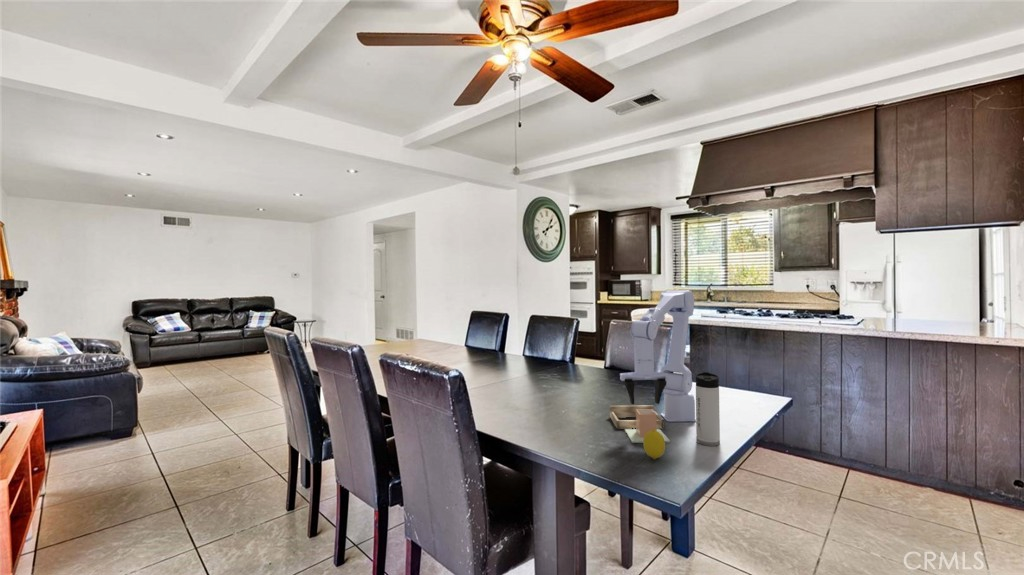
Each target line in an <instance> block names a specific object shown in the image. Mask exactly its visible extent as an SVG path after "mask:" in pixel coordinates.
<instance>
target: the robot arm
mask: <svg viewBox="0 0 1024 575" xmlns="http://www.w3.org/2000/svg"><path fill="white" fill-rule="evenodd" d="M659 299H660V300H659V302H658V303H657V305H656V306H655V307H650V308H649V309H647V312H645V313H644V314H643V316H642V317H641V318H640V319H639V320H637V319H636V320H635V321H633V322H632V323H631V325H630V329H629V333H630V337H631V342H632V345H633V346H634V347H633V350H634V352H633V353H634V354H633V356H634V357H633V358H634V361H633V362H634V371H631V372H621V373H619V380H620V381H621V382H623V384H624V386H625V388H626V390H627V394H628V396H629V397H628V398H629V403H630V404H631V405H635V385H636V384H635V383H634V381H647V380H649V381H651V380H652V381H653V382H654V383H653V384H654V402H655V403H656V404H657V405H659V404H660V403H661V397H662V394H663V397H664V399H663V400H664V403H663V404H664V408H663V409H664V410H663V411H664V412H661V413H660V415H661V416H662V418H663V419H664V420H665V421H666V422H672V423H673V422H674V423H675V422H696V399H695V396H694V394H693V393H692V392H691V391H692V388H693V379H692V378H693V376H692V371H691V370H690V369H689V368H688V367H687V366H686V365H685V358H686V356H685V355H686V350H687V336H688V328H689V319H690V318H689V317H691V316H693V314H694V309H695V296H694V293H693V292H692V290H691V289H690V290H689V289H688V290H667V289H665V290H664V289H663V291H662V292H661V293H660V298H659ZM665 315H669V316H671V317H672V319H673V320H672V328H671V338H670V347H669V356H668V363H666V364H664V365H663V366H662V367H661V368H660V371H655V364H654V363H655V362H654V361H655V360H654V359H655V358H654V353H655V352H654V340H655V339H656V337H657V334H658V331H659V327H660V326H661V325H662V324H663V323H664V321H665V319H666V318H665V317H666V316H665Z"/></svg>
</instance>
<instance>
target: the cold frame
mask: <svg viewBox="0 0 1024 575" xmlns="http://www.w3.org/2000/svg"><path fill="white" fill-rule="evenodd" d="M636 409H652V410H653V411H654V412H655V413H656V416H657V429H665V419H664V418H663V417H661V416H660V415H659V414H658V413H657V411H655V405H653V404H652V405H649V404H647V405H646V404H645V405H644V404H642V405H641V404H640V405H639V404H638V405H610V406H609V417H610V419H611V421H612V422H613V424H614V426H615V428H616V429H617V430H622V429H623V430H625V429H632V428H633V429H635V428H636V419H630V420H629V419H626V417H636ZM619 418H620V419H619ZM623 418H624V419H623ZM622 419H623V420H622Z"/></svg>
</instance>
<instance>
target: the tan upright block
mask: <svg viewBox="0 0 1024 575" xmlns="http://www.w3.org/2000/svg"><path fill="white" fill-rule="evenodd" d="M654 411H655V410H654ZM654 411H653V410H652V409H636V418H635V420H636V432H637V434H638V435H639V437H645V435H646V433H647V432H649V431H652V430H653V429H654V430H656V431H657V429H658V428H657V416H656V413H657V412H656V411H655V412H656V413H655V412H654Z"/></svg>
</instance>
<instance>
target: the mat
mask: <svg viewBox="0 0 1024 575" xmlns="http://www.w3.org/2000/svg"><path fill="white" fill-rule="evenodd" d="M657 431H658V432H659V433H661V435H662V436H663V438H664V441H665V443H671V440H670V439H669V438H668V437H667V435H666V434H664V432H663V430H661V428H657ZM624 432H625V434H626V433H627V434H626V435H627V437H628V438H629V439H630V441H631V443H634V444H636V443H639V444H641V443H643V441H644V437H639V435H638V434H637V432H636V429H624Z"/></svg>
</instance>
